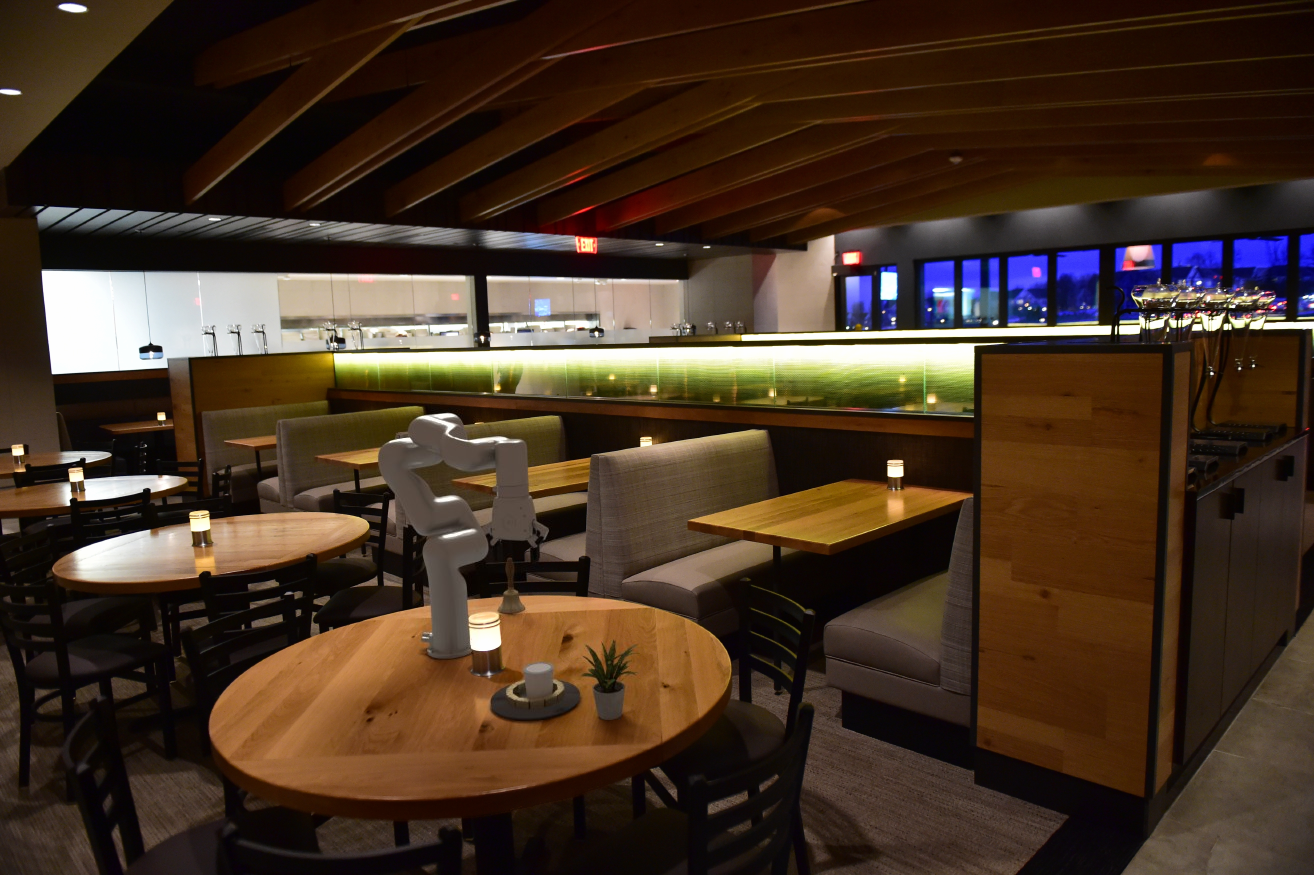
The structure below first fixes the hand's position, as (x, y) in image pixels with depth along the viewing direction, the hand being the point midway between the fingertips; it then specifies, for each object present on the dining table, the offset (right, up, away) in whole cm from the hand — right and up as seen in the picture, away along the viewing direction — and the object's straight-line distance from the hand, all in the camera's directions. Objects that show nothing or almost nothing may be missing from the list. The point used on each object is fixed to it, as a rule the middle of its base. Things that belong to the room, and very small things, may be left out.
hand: (516, 561), depth 203 cm
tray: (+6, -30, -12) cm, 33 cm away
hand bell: (-11, -23, +54) cm, 60 cm away
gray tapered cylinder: (+7, -29, -12) cm, 32 cm away
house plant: (+24, -30, -21) cm, 44 cm away
